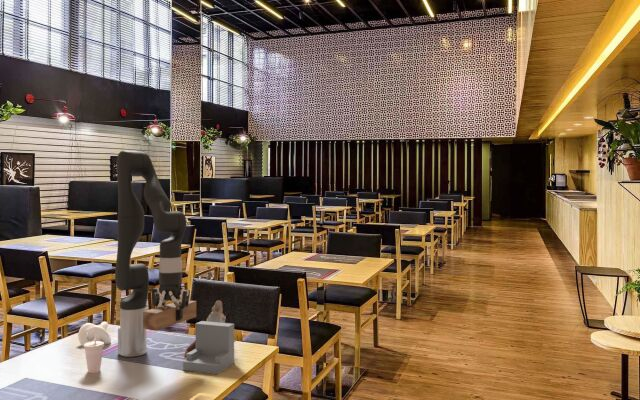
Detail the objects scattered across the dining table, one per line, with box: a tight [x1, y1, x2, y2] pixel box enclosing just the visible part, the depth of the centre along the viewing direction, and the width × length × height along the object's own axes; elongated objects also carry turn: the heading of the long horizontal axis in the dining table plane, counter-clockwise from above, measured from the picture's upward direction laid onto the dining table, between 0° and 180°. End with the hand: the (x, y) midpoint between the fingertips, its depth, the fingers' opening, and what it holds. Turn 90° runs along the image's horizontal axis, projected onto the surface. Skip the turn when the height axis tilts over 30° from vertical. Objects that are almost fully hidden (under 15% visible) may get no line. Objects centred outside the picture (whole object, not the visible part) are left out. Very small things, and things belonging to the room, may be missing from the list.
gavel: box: [183, 317, 210, 357], centre depth 195 cm, size 21×5×10 cm, turn 160°
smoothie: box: [83, 330, 105, 374], centre depth 170 cm, size 6×6×14 cm
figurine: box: [208, 299, 226, 323], centre depth 200 cm, size 9×8×20 cm
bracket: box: [182, 320, 235, 375], centre depth 176 cm, size 13×12×14 cm
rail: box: [143, 299, 197, 332], centre depth 171 cm, size 6×20×6 cm, turn 155°
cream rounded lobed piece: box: [77, 321, 112, 347], centre depth 199 cm, size 11×12×9 cm
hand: (170, 319), depth 171 cm, fingers closed on rail, 6 cm apart
